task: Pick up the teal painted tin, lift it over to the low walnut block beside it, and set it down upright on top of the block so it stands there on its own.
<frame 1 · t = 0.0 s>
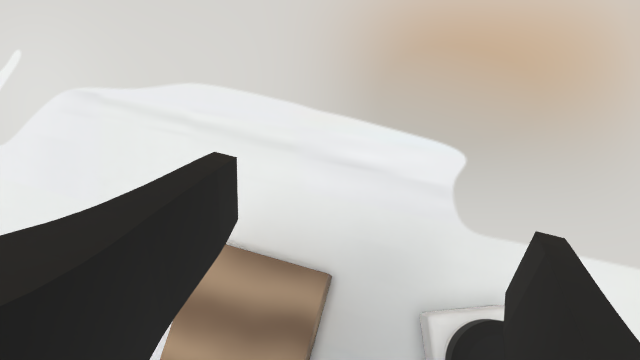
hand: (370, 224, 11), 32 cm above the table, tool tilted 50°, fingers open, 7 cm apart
medicine bottle: (465, 350, 40), on the table
walnut block: (254, 321, 43), on the table
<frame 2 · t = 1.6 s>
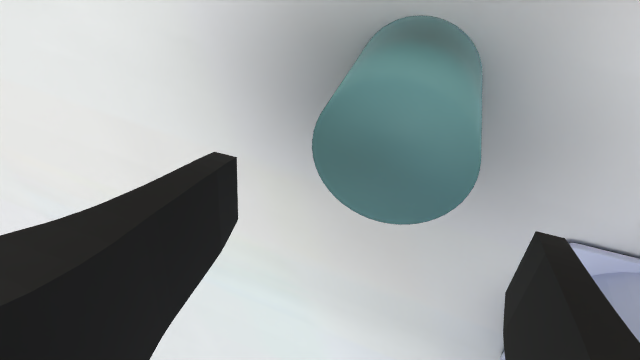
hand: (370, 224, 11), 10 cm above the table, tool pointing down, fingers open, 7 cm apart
teal tin: (417, 78, 19), on the table
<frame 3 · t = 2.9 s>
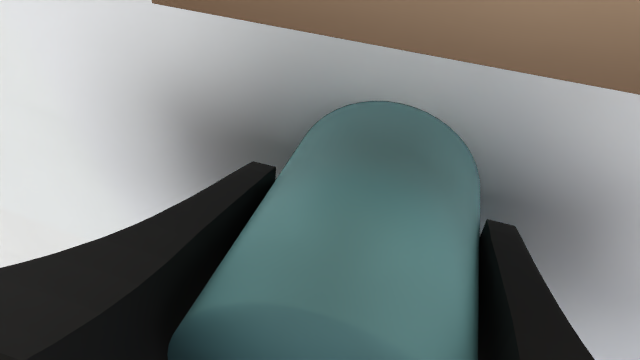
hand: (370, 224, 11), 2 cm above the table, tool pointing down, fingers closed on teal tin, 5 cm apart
teal tin: (382, 186, 12), on the table, touching gripper
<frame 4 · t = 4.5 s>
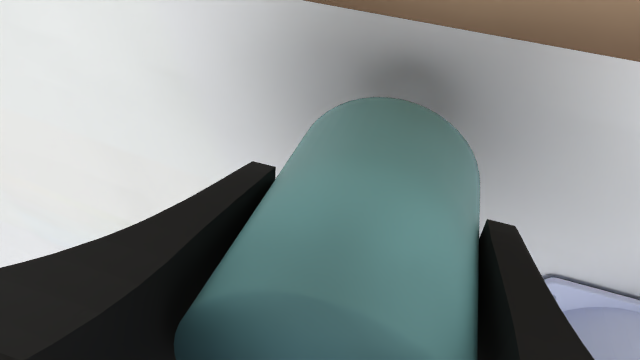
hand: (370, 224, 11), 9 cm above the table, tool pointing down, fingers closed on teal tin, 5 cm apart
teal tin: (383, 182, 13), point 7 cm above the table, touching gripper
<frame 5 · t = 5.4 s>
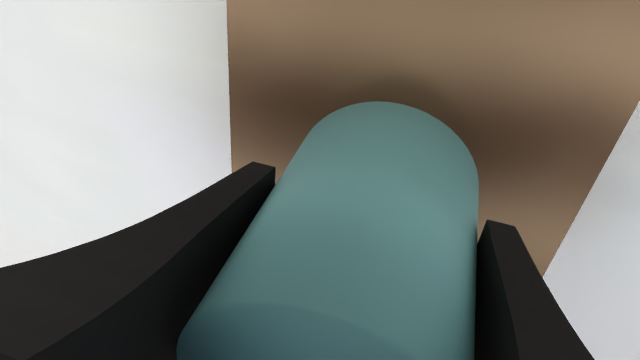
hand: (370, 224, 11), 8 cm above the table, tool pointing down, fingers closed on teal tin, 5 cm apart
walnut block: (414, 87, 18), on the table
teal tin: (383, 184, 13), point 6 cm above the table, touching gripper
when the fingers open (7 cm above the table, at t = 6.1 s): teal tin drops 2 cm, point 3 cm above the table.
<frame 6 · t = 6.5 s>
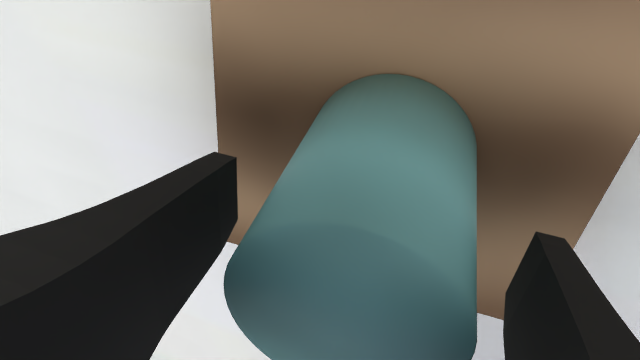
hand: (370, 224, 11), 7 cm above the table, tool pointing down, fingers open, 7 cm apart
walnut block: (411, 96, 17), on the table
teal tin: (390, 151, 14), point 3 cm above the table
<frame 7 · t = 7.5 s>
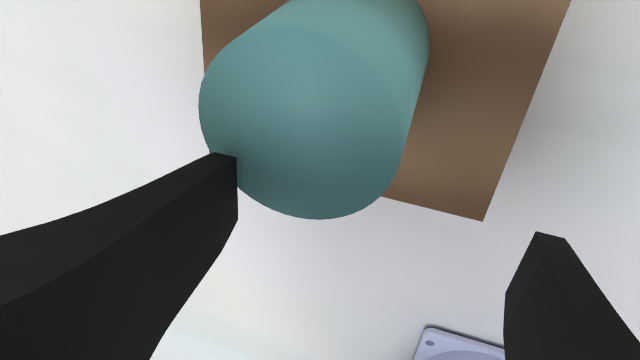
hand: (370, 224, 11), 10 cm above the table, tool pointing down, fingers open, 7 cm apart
walnut block: (379, 17, 19), on the table, touching teal tin
teal tin: (356, 46, 16), point 3 cm above the table, touching walnut block
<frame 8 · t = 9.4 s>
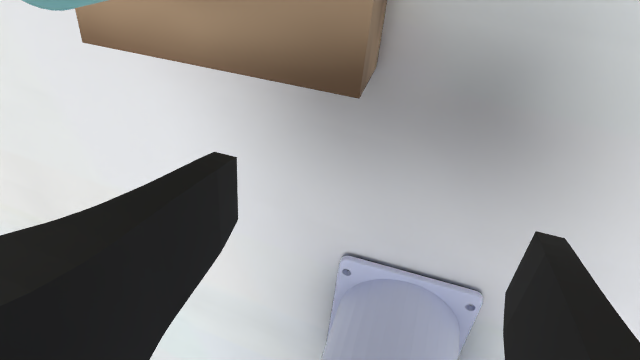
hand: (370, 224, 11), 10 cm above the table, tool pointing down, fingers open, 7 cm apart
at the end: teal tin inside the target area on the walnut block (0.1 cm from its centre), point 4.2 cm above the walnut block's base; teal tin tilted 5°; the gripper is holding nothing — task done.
